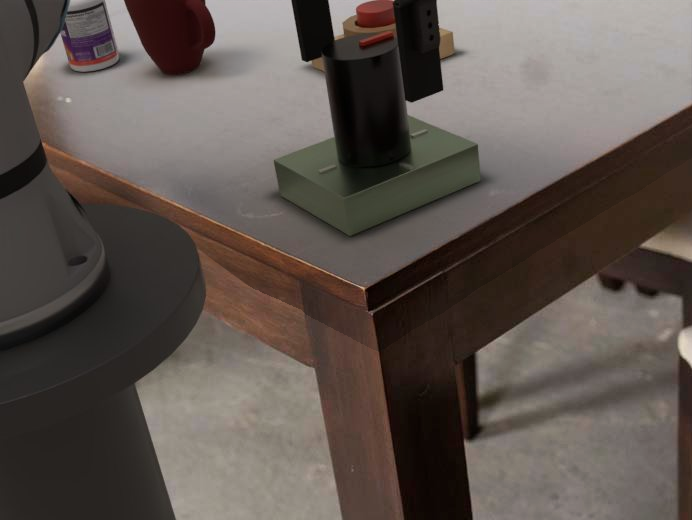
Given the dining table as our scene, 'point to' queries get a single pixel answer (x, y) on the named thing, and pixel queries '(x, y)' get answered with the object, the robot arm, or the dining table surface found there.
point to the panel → (377, 178)
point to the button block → (353, 29)
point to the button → (375, 14)
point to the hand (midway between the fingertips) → (368, 75)
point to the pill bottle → (89, 36)
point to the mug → (173, 32)
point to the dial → (367, 99)
